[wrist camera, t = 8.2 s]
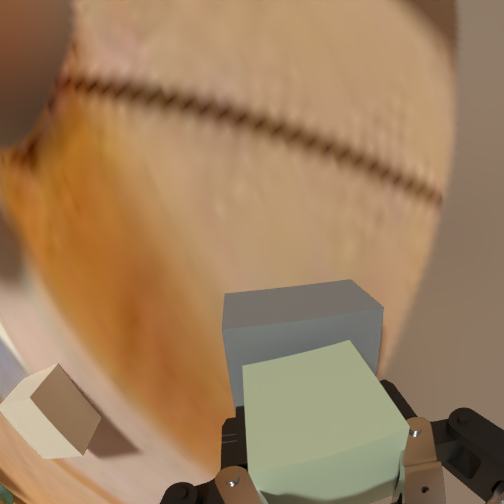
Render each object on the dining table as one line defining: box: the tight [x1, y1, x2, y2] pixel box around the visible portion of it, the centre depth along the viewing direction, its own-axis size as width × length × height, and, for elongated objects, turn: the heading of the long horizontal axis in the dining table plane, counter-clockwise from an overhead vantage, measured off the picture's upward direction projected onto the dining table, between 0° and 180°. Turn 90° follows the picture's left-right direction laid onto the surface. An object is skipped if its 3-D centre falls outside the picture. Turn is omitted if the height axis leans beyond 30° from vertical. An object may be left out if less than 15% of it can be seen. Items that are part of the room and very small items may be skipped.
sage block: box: [242, 340, 410, 504], centre depth 10 cm, size 5×5×6 cm
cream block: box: [0, 363, 102, 459], centre depth 17 cm, size 6×6×5 cm
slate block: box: [222, 279, 384, 413], centre depth 17 cm, size 8×8×5 cm
